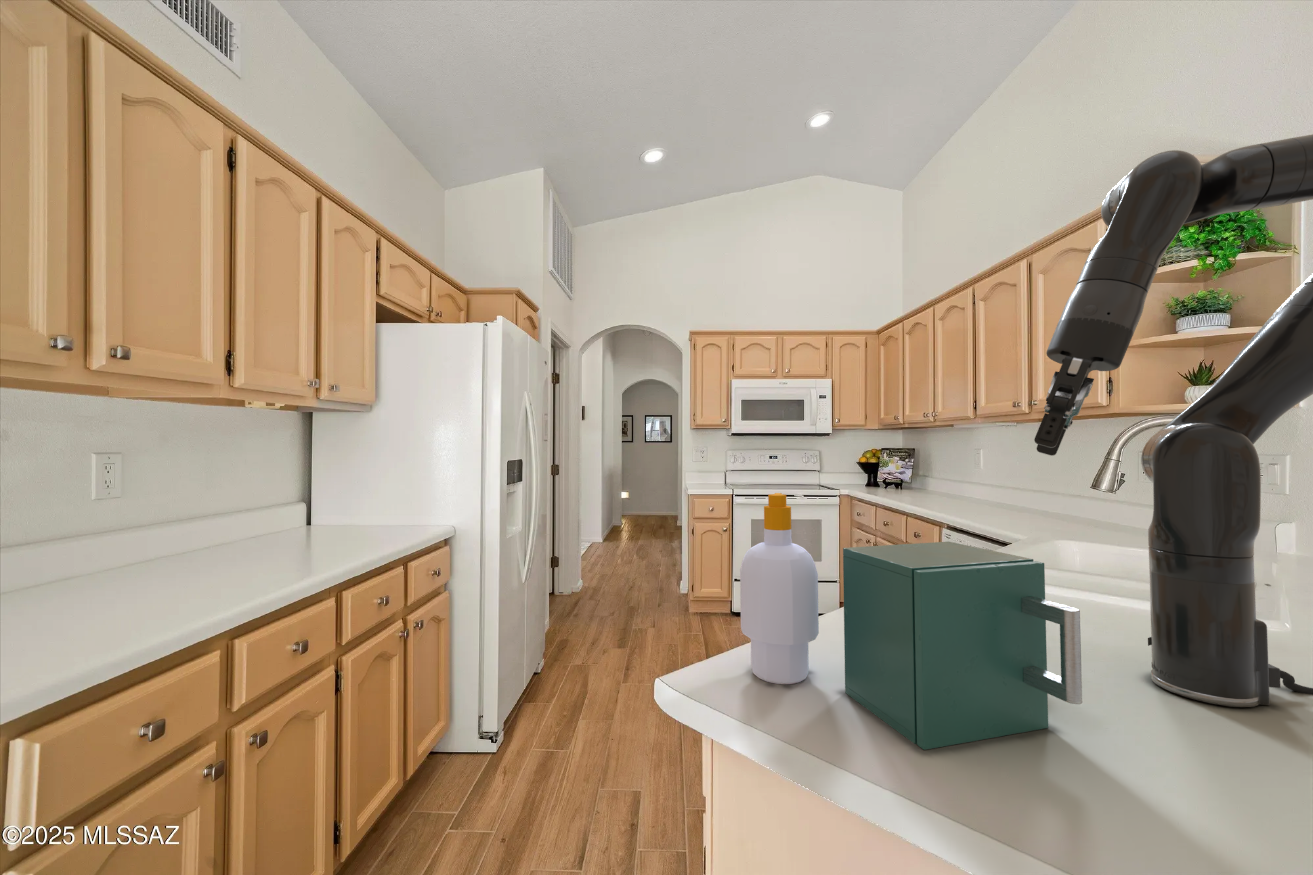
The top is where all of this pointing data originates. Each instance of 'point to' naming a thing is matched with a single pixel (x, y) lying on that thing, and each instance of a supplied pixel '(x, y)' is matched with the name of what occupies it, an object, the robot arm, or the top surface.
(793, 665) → the soap bottle
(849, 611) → the box
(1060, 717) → the top surface
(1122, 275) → the robot arm
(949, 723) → the fridge door
